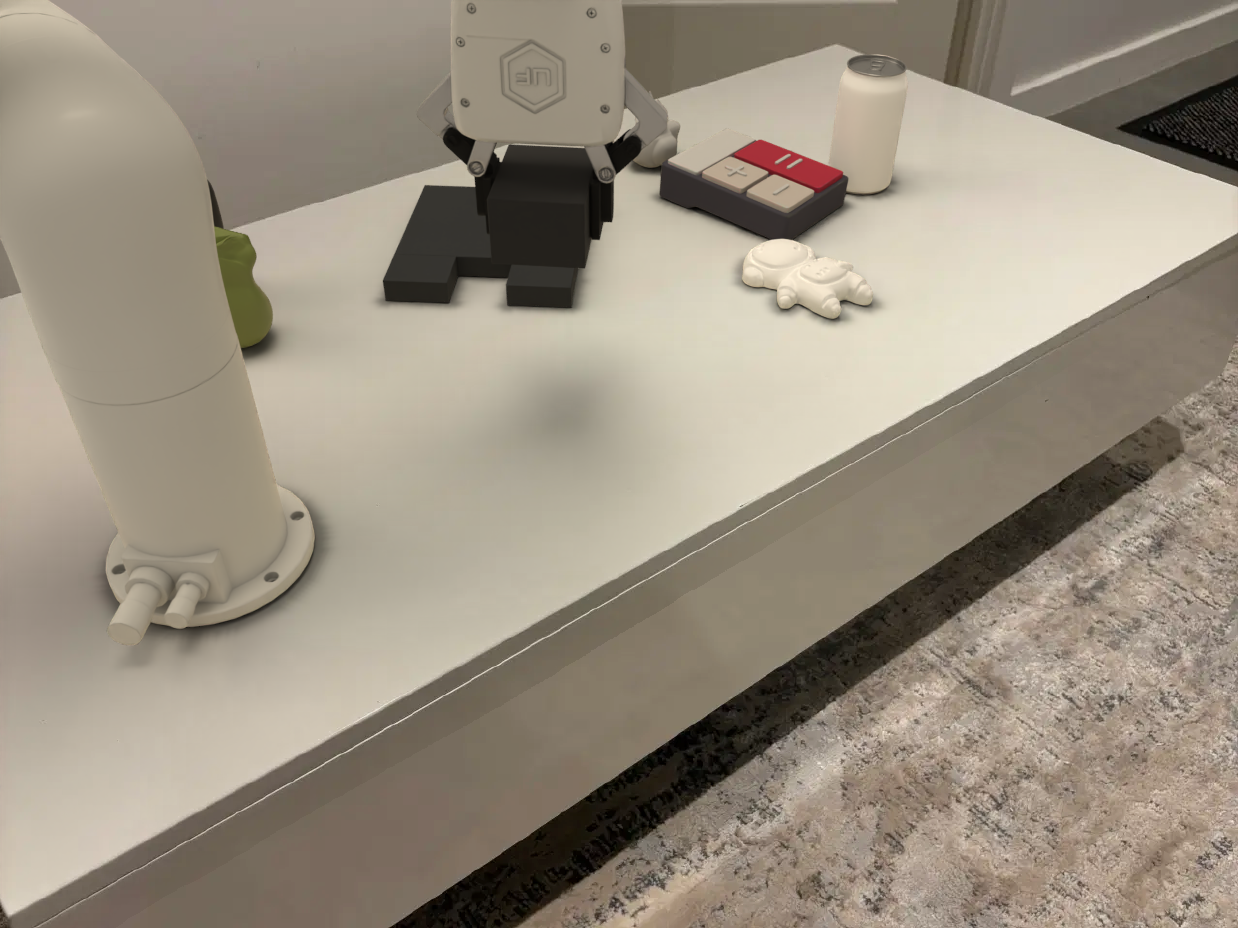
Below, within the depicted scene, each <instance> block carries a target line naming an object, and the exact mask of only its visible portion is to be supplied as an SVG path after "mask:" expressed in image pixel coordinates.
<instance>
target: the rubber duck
mask: <svg viewBox="0 0 1238 928" xmlns="http://www.w3.org/2000/svg"><path fill="white" fill-rule="evenodd" d="M648 93H649V94H650V95H651V96H652V97H653V93H652V91H651V90H649V92H648ZM653 98H654V97H653ZM655 101H656V102H657V103H658V104H659V105H660V106H661V107H662V108H663V109H664V110H665V111H666V112H667V114H668V115H669V112H668V109H667V108H666V106H665V105H664V104H663V103H662V102H661V100H660V99H658V98H657V99H655ZM634 122H635V124H636V123H638V122H639V121H638V119H637V118H636V117H635V116H634ZM680 131H681V123H679V122H678V121H677V120H675V119H668V125H667V129H666V130H665V131H664V132H663V133H662V134H661V135H660V136H659V137H657V138H656V139H655V140H654V141H653V142H652V143H651V144H649V145H648V146H646V147H645V148H644V149H643V150H642V151H641V152H640V154H639V155H638V156H637V157H636V158H635V159H634V160H632V162H634V163H635V164H637V165H639V166H641V167H643V168H649V169H650V168H652V169H653V168H658V167H660V166H662V163H663V162H664V161H666V160H668V159H670V158H672V157H673V156H675V155H677V154H678V153H677V152H678V137H679V133H680Z"/></svg>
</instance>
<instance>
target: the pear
mask: <svg viewBox="0 0 1238 928" xmlns="http://www.w3.org/2000/svg"><path fill="white" fill-rule="evenodd" d="M214 231H215V240H216V247H217V254H218V260H219V265H220V270H221V275H222V279H223V284H224V288H225V292H226V296H227V300H228V304H229V308H230V312H231V316H232V320H233V324H234V327H235V331H236V334H237V336H238V340H239V344H240V347H241V349H243V348H244V349H245V348H249V347H252V346H255V345H256V344H258V343H260V342H262V340H264V339H265V337H266V336H267V335H268V333H270V330H271V327H272V325H273V321H274V320H273V319H274V311H273V306H272V304H271V302H270V299H269V297H268V296H267V294H266V293H265V292H264V290H263V289H262V288H261V287H260V286H259V285H258V283H257V282H256V281H255V278H254V275H253V270H254V267H255V266H256V265H255V264H256V262H257V257H258V256H257V255H258V254H257V251H256V248H255V247H254V245H253V244H252V241H251V238H250V236H249V235H248V234H246V233H242V232H238V231H234V230H230V229H227V228H224V229H222V228H219V227H215V226H214Z"/></svg>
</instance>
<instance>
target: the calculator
mask: <svg viewBox="0 0 1238 928" xmlns="http://www.w3.org/2000/svg"><path fill="white" fill-rule="evenodd" d="M847 184H848V177H847V176H845V175H843V171H841V170H838V169H836V168H833V167H831V166H828V164H826V163H823V162H821V161H817V160H815V159H812V158H811V157H808V156H806V155H805V156H804V155H802V154H799V153H797V152H795V151H792V150H789V149H787V148H784V147H782V146H779V145H777V144H775V143H774V144H773V143H771V142H769V141H766V140H765V139H764V140H763V139H758V140H756V138H754V137H752V136H748V135H746V134H744V133H741V132H739V131H736V130H734V129H732V128H727V127H726V128H723V129H722V130H720V131H718V132H717V133H715V134H712V135H711V136H708V137H706V138H705V139H703V140H701V141H699V142H698V143H696V144H694V145H692V146H690V147H688V148H687V149H684V150H682V151H681V152H679V153H676V155H675V156H673V157H672V158H670V159H668V160H666V161H664V162H663V163H662V165H661V168H660V180H659V196H660V197H661V198H662V199H665V200H667V201H670V202H672V203H674V204H676V205H679V206H680V207H683V208H686V209H692V208H695V207H696V208H699V209H701V210H703V211H705V212H708V213H710V214H712V215H715V216H716V217H719V218H721V219H724V220H725V221H728V222H730V223H733V224H735V225H737V226H740V227H742V228H744V229H746V230H748V231H751V232H753V233H756V234H758V235H760V236H762V237H764V238H766V239H769V240H774V239H788V240H793V239H795V238H797V237H799V236H800V235H801V234H803V233H804V232H805V231H806V230H809V229H810V228H811V227H812V226H814V225H816V224H817V223H818V222H820V221H822V220H823V219H825V218H826V217H827V216H829V215H830V214H832V213H833V212H835V211H837V209H839V208H840V207H842V206H843V205H844V203H845V199H846V194H847V193H846V189H847Z"/></svg>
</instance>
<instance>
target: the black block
mask: <svg viewBox="0 0 1238 928" xmlns="http://www.w3.org/2000/svg"><path fill="white" fill-rule="evenodd" d="M501 162H502V163H501V165H500V168H499V170H498V173H497V175H496V178H495V180H494V183H493V185H492V188H491V190H490V193H489V195H488V198H487V208H488V222H489V235H490V248H491V262H492V263H493V264H509V265H528V266H546V267H564V268H578V269H581V270H582V269H586V266H587V262H588V258H589V257H588V256H589V253H590V249H591V244H592V241H593V240H592V238H590V233H589V180H590V176H591V172H592V168H593V166H592V164H591V162H590V159H589V157H588V155H587V152H586V150H585V148H584V147H575V146H554V145H534V144H513V143H508V145H507V148H506V150H505V152H504V156H503V157H502V160H501Z"/></svg>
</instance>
